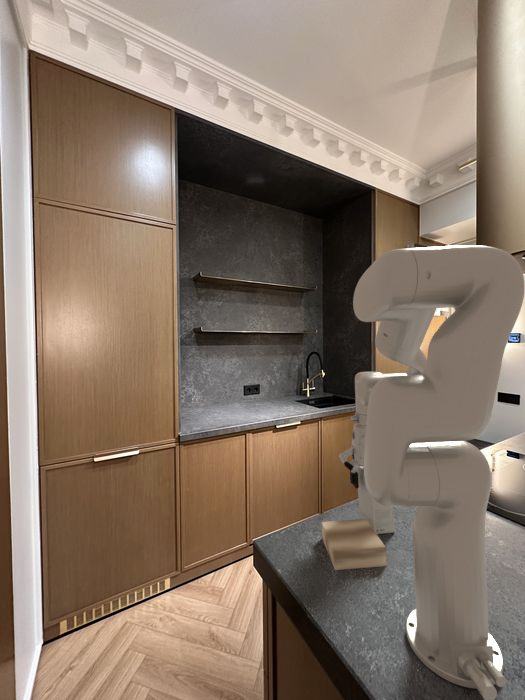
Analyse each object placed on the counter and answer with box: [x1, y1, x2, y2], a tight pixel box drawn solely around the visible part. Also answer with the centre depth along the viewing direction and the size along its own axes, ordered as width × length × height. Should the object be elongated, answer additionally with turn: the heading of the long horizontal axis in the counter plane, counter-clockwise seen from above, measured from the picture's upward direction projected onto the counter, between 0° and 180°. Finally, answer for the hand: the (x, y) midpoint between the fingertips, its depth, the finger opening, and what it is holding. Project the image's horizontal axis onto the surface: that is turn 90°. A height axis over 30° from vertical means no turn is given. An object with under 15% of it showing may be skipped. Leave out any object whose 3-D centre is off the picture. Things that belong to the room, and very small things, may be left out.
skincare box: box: [356, 466, 396, 535], centre depth 81 cm, size 8×6×15 cm
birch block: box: [321, 518, 387, 571], centre depth 71 cm, size 11×11×4 cm
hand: (373, 484), depth 81 cm, fingers open, 9 cm apart
